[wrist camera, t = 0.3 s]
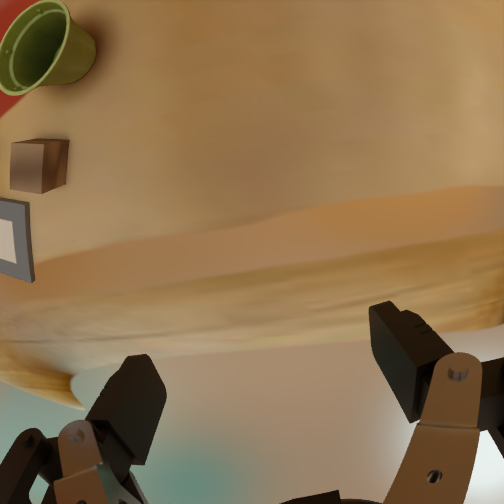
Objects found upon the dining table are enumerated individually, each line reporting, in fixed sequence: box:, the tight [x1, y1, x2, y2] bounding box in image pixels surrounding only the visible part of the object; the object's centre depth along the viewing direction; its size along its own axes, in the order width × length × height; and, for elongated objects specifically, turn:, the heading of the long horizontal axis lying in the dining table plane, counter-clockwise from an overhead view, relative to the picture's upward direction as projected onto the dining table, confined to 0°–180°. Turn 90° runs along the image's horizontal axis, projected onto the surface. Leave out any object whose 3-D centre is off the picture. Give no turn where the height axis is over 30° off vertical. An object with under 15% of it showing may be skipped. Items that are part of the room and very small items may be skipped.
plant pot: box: [0, 0, 96, 96], centre depth 18 cm, size 9×9×9 cm
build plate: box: [0, 198, 35, 283], centre depth 30 cm, size 11×11×1 cm
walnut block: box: [10, 139, 69, 194], centre depth 25 cm, size 5×5×5 cm
